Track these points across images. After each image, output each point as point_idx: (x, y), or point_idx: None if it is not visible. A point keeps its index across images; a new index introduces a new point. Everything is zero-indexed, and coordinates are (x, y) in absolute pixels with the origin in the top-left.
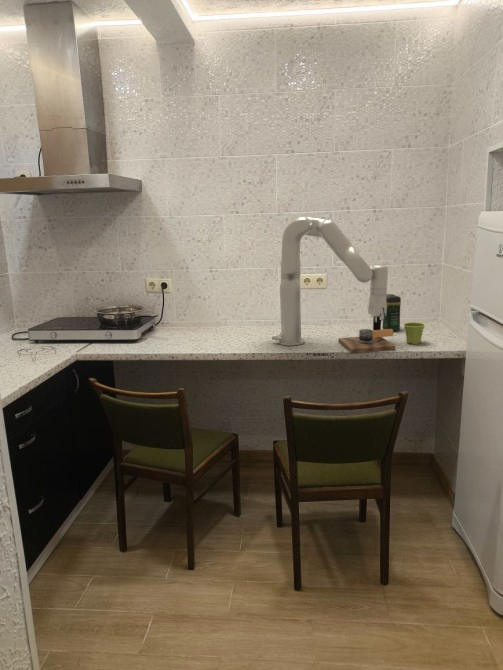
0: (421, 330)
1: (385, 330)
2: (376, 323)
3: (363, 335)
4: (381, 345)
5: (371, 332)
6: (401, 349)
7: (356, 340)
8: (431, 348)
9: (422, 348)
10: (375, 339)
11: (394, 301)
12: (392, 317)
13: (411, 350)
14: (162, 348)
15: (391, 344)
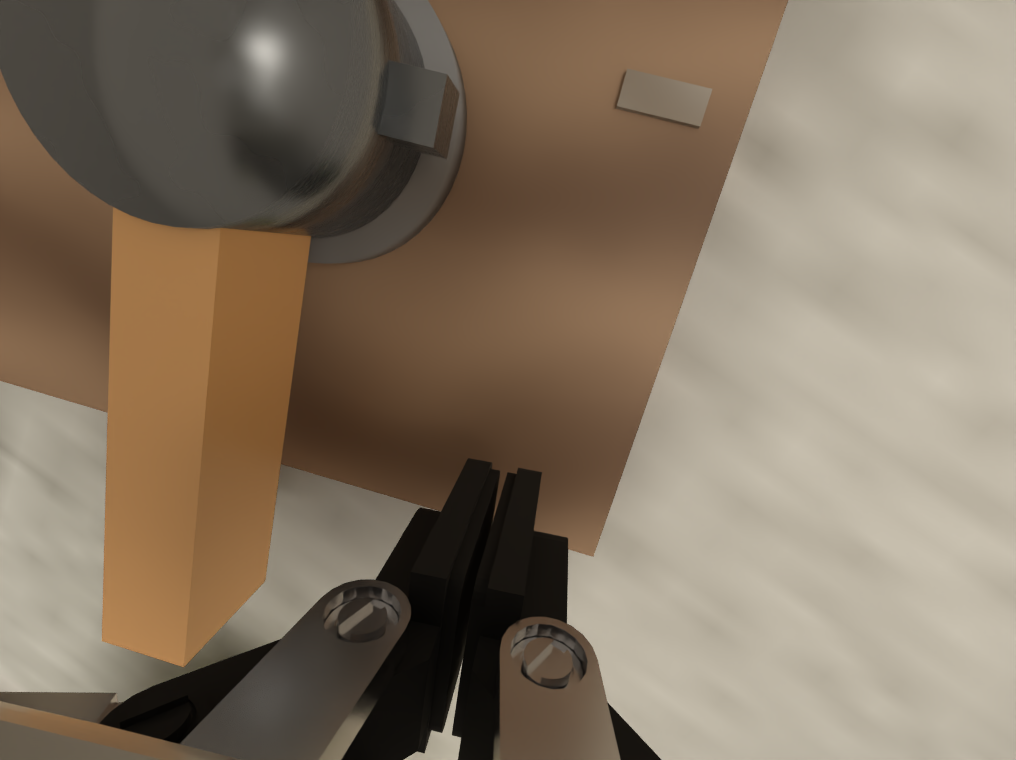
0: None
1: (107, 502)
2: (407, 592)
3: None
4: (44, 216)
5: (49, 117)
6: (65, 443)
7: (487, 4)
8: (28, 690)
9: (47, 632)
10: (392, 355)
11: None
12: None
13: (5, 502)
14: None
15: (59, 375)
